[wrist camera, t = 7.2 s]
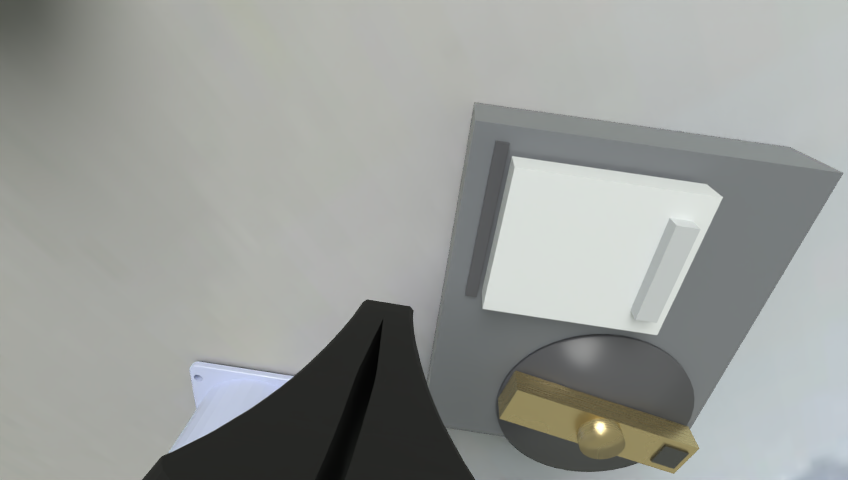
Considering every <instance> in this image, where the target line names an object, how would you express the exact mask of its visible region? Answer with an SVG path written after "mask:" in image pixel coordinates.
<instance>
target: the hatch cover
mask: <svg viewBox="0 0 848 480" xmlns="http://www.w3.org/2000/svg"><path fill="white" fill-rule="evenodd" d="M722 198H723V197H722V196H721V195H719V194H718V193H717V192H716V191H715V190H713V189H712V188H711V187H710V186H708V185H707V184H702V183H695V182H689V181H682V180H675V179H668V178H661V177H654V176H647V175H640V174H633V173H626V172H619V171H612V170H605V169H598V168H591V167H585V166H578V165H571V164H564V163H557V162H550V161H543V160H536V159H529V158H522V157H515V156H512V158H511V162H510V167H509V171H508V176H507V180H506V185H505V189H504V194H503V198H502V203H501V207H500V212H499V216H498V221H497V225H496V230H495V234H494V239H493V243H492V248H491V252H490V257H489V261H488V266H487V270H486V275H485V279H484V284H483V288H482V309H487V310H493V311H500V312H506V313H513V314H520V315H526V316H533V317H540V318H546V319H553V320H560V321H566V322H573V323H579V324H586V325H593V326H599V327H606V328H613V329H619V330H626V331H632V332H639V333H646V334H652V335H658V333H659V331H660V328H661V326H662V324H663V322H664V320H665V318H666V316H667V314H668V312H669V310H670V307H671V305H672V303H673V301H674V299H675V297H676V295H677V293H678V291H679V289H680V286H681V284H682V282H683V280H684V278H685V276H686V274H687V272H688V270H689V268H690V265H691V263H692V261H693V259H694V257H695V255H696V253H697V251H698V249H699V247H700V244H701V242H702V240H703V238H704V236H705V234H706V232H707V230H708V228H709V226H710V223H711V221H712V219H713V217H714V215H715V213H716V211H717V209H718V207H719V205H720V202H721V200H722Z"/></svg>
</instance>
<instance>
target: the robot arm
mask: <svg viewBox="0 0 848 480" xmlns="http://www.w3.org/2000/svg"><path fill="white" fill-rule="evenodd" d="M190 376H191V381H192V387H193V393H194V398H195V404H196V411H195V412H194V414H193V416H192V417H191V419H190V420H189V422H188V423H187V425H186V426H185V428H184V429H183V431H182V432H181V434H180V435H179V437H178V438H177V440H176V442H175V443H174V445H173V446H172V448H171V449H170V451H169V452H168V454H166V455H164V456H162V457H161V458H160V459H159V460H158V461H157V463H156V464H155V465H154V466H153V467H152V469H151V470H150V471H149V472H148V473H147V474H146V476H145V477H144V478H143V479H142V480H475V479H474V477H473V476H472V474H471V472H470V471H469V469H468V468H467V466H466V464H465V463H464V461H463V459H462V458H461V456H460V454H459V452H458V450H457V449H456V447H455V445H454V443H453V441H452V439H451V438H450V436H449V434H448V432H447V430H446V428H445V426H444V424H443V422H442V420H441V417H440V415H439V413H438V411H437V408H436V406H435V404H434V401H433V399H432V396H431V393H430V391H429V388H428V385H427V382H426V379H425V376H424V373H423V369H422V366H421V362H420V358H419V354H418V350H417V346H416V341H415V335H414V327H413V309H412V308H411V307H410V306H404V305H397V304H391V303H385V302H379V301H373V300H366V301H364V302H363V303H362V304H361V306H360V307H359V309H358V310H357V312H356V313H355V314H354V316H353V317H352V318H351V319H350V321H349V322H348V323H347V324H346V325H345V326H344V328H343V329H342V330H341V331H340V332H339V333H338V334H337V335H336V337H335V338H334V339H333V340H332V341H331V342H330V343H329V344H328V345H327V346H326V347H325V348H324V349H323V350H322V351H321V352H320V353H319V354H318V355H317V356H316V357H315V358H314V359H313V360H312V361H311V362H310V363H309V364H308V365H306V366H305V367H304V368H303V369H302V370H301V371H300V372H298V373H297V374H296V375H295V376H290V375H283V374H277V373H270V372H264V371H257V370H251V369H244V368H238V367H231V366H225V365H219V364H212V363H206V362H194V363H193V364H192V366H191V367H190Z"/></svg>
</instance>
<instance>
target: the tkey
mask: <svg viewBox="0 0 848 480" xmlns="http://www.w3.org/2000/svg"><path fill="white" fill-rule="evenodd" d="M498 406H499V419H502V420H505V421H508V422H512V423H515V424H518V425H521V426H524V427H528V428H531V429H534V430H537V431H540V432H543V433H547V434H550V435H553V436H556V437H559V438H562V439H566V440H569V441H572V442H575V443H578V444H579V448H580V450H581V452H582V453H583V454H584V455H586V456H587V457H590V458H593V459H609V458H612V457H615V456H619V457H623V458H626V459H629V460H632V461H635V462H638V463H642V464H645V465H648V466H651V467H654V468H657V469H661V470H664V471H667V472H670V473H673V474H674V473H675V472H676V471H677V470H678V469H679V468H680V467H681V466H682V465H683V464H684V463H685V462H686V461H687V460H688V459H689V458H690V457H691V456H692V455H693V454H694V453H695V452H696V451H697V450H698V449H699V447H698V445H697V443H696V441H695V439H694V437H693V435H692V433H691V431H690V429H689V427H687V426H684V425H681V424H678V423H675V422H672V421H669V420H666V419H663V418H660V417H657V416H654V415H651V414H648V413H644V412H641V411H638V410H635V409H632V408H629V407H626V406H623V405H620V404H617V403H614V402H611V401H608V400H605V399H602V398H598V397H595V396H592V395H589V394H586V393H583V392H580V391H577V390H574V389H571V388H568V387H565V386H562V385H559V384H555V383H552V382H549V381H546V380H543V379H540V378H537V377H534V376H531V375H528V374H525V373H522V372H519V371H516V370H515V372H514V373H513V375H512V376H511V378H510V380H509V381H508V383H507V385H506V386H505V388H504V389H503V391H502V393H501V394H500V396H499V398H498Z"/></svg>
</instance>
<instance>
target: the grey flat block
mask: <svg viewBox="0 0 848 480" xmlns="http://www.w3.org/2000/svg"><path fill="white" fill-rule="evenodd" d="M512 156H515V157H522V158H529V159H536V160H543V161H550V162H557V163H564V164H571V165H578V166H585V167H591V168H598V169H605V170H612V171H619V172H626V173H633V174H640V175H647V176H654V177H661V178H668V179H675V180H682V181H689V182H695V183H702V184H707V185H708V186H710V187H711V188H712V189H713V190H715V191H716V192H717V193H718V194H719V195H721V196H722V197H723V198H722V200H721V202H720V205H719V207H718V209H717V211H716V213H715V215H714V217H713V219H712V221H711V223H710V226H709V228H708V230H707V232H706V234H705V236H704V238H703V240H702V242H701V244H700V247H699V249H698V251H697V253H696V255H695V257H694V259H693V261H692V263H691V265H690V268H689V270H688V272H687V274H686V276H685V278H684V280H683V282H682V284H681V286H680V289H679V291H678V293H677V295H676V297H675V299H674V301H673V303H672V305H671V307H670V310H669V312H668V314H667V316H666V318H665V320H664V322H663V324H662V326H661V328H660V331H659V333H658V335H652V334H646V333H639V332H632V331H626V330H619V329H613V328H606V327H599V326H593V325H586V324H579V323H573V322H566V321H560V320H553V319H546V318H540V317H533V316H526V315H520V314H513V313H506V312H500V311H493V310H487V309H482V288H483V284H484V279H485V275H486V270H487V266H488V261H489V257H490V252H491V248H492V243H493V239H494V234H495V230H496V225H497V221H498V216H499V212H500V207H501V203H502V198H503V194H504V189H505V185H506V180H507V176H508V171H509V167H510V162H511V158H512ZM842 174H843V173H842V172H840V171H838V170H836V169H834V168H832V167H830V166H828V165H826V164H824V163H822V162H820V161H818V160H816V159H813V158H811V157H809V156H807V155H805V154H803V153H801V152H799V151H797V150H795V149H793V148H791V147H784V146H777V145H770V144H763V143H756V142H749V141H742V140H735V139H728V138H721V137H714V136H707V135H700V134H692V133H685V132H678V131H671V130H664V129H657V128H650V127H643V126H636V125H629V124H622V123H615V122H608V121H601V120H594V119H587V118H580V117H573V116H566V115H559V114H552V113H545V112H538V111H531V110H524V109H517V108H510V107H503V106H496V105H488V104H481V103H474V108H473V114H472V120H471V126H470V132H469V138H468V144H467V149H466V155H465V161H464V167H463V173H462V179H461V185H460V190H459V196H458V202H457V208H456V214H455V220H454V226H453V232H452V237H451V243H450V249H449V255H448V261H447V267H446V273H445V278H444V284H443V290H442V296H441V302H440V308H439V314H438V320H437V325H436V331H435V337H434V343H433V349H432V355H431V361H430V367H429V372H428V378H427V385H428V388H429V391H430V393H431V396H432V399H433V401H434V404H435V406H436V408H437V411H438V413H439V415H440V417H441V420H442V422H443V424H444V426H445V427H447V428H453V429H460V430H466V431H472V432H479V433H485V434H492V435H498V436H504V437H506V438H507V439H508V441H509V442H510V443H511V444H512V445H513V446H514V447H515V448H516V449H517V450H519V451H520V452H521V453H523V454H524V455H526V456H527V457H529V458H531V459H533V460H535V461H537V462H540V463H542V464H545V465H548V466H551V467H554V468H559V469H564V470H570V471H581V472H595V471H607V470H614V469H618V468H623V467H627V466H630V465H633V464H637V463H638V462H635V461H632V460H629V459H626V458H623V457H619V456H615V457H612V458H609V459H593V458H590V457H587V456H586V455H584V454H583V453H582V452H581V450H580V448H579V444H578V443H575V442H572V441H569V440H566V439H562V438H559V437H556V436H553V435H550V434H547V433H543V432H540V431H537V430H534V429H531V428H528V427H524V426H521V425H518V424H515V423H512V422H508V421H505V420H502V419H499V406H498V398H499V396H500V394H501V393H502V391H503V389H504V388H505V386H506V385H507V383H508V381H509V380H510V378H511V376H512V375H513V373H514V372H515V370H516V371H519V372H522V373H525V374H528V375H531V376H534V377H537V378H540V379H543V380H546V381H549V382H552V383H555V384H559V385H562V386H565V387H568V388H571V389H574V390H577V391H580V392H583V393H586V394H589V395H592V396H595V397H598V398H602V399H605V400H608V401H611V402H614V403H617V404H620V405H623V406H626V407H629V408H632V409H635V410H638V411H641V412H644V413H648V414H651V415H654V416H657V417H660V418H663V419H666V420H669V421H672V422H675V423H678V424H681V425H684V426H687V427H689V429H690V428H691V427H692V425H693V423H694V422H695V420H696V418H697V417H698V415H699V413H700V412H701V410H702V408H703V407H704V405H705V403H706V402H707V400H708V398H709V397H710V395H711V393H712V392H713V390H714V388H715V387H716V385H717V383H718V382H719V380H720V378H721V377H722V375H723V373H724V372H725V370H726V368H727V367H728V365H729V363H730V362H731V360H732V358H733V357H734V355H735V353H736V352H737V350H738V348H739V347H740V345H741V343H742V342H743V340H744V338H745V337H746V335H747V333H748V331H749V330H750V328H751V326H752V325H753V323H754V321H755V320H756V318H757V316H758V315H759V313H760V311H761V310H762V308H763V306H764V305H765V303H766V301H767V300H768V298H769V296H770V295H771V293H772V291H773V290H774V288H775V286H776V285H777V283H778V281H779V280H780V278H781V276H782V275H783V273H784V271H785V270H786V268H787V266H788V265H789V263H790V261H791V260H792V258H793V256H794V255H795V253H796V251H797V250H798V248H799V246H800V245H801V243H802V241H803V240H804V238H805V236H806V235H807V233H808V231H809V230H810V228H811V226H812V225H813V223H814V221H815V220H816V218H817V216H818V215H819V213H820V211H821V210H822V208H823V206H824V205H825V203H826V201H827V200H828V198H829V196H830V195H831V193H832V191H833V190H834V188H835V186H836V184H837V183H838V181H839V179H840V178H841V176H842Z"/></svg>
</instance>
